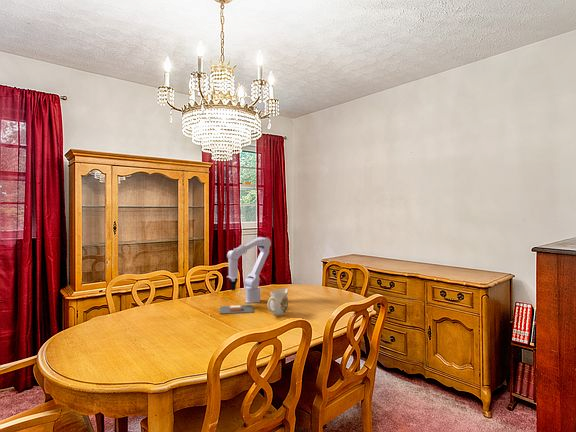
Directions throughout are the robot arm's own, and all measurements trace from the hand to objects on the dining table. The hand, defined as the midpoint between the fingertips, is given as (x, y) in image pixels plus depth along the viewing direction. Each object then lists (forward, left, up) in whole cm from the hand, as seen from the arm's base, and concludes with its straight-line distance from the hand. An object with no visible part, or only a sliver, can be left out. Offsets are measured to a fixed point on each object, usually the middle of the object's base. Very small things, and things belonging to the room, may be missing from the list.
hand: (233, 290), depth 219 cm
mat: (-2, +10, -10) cm, 14 cm away
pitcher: (-26, +22, -10) cm, 36 cm away
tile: (-1, +9, -8) cm, 12 cm away
